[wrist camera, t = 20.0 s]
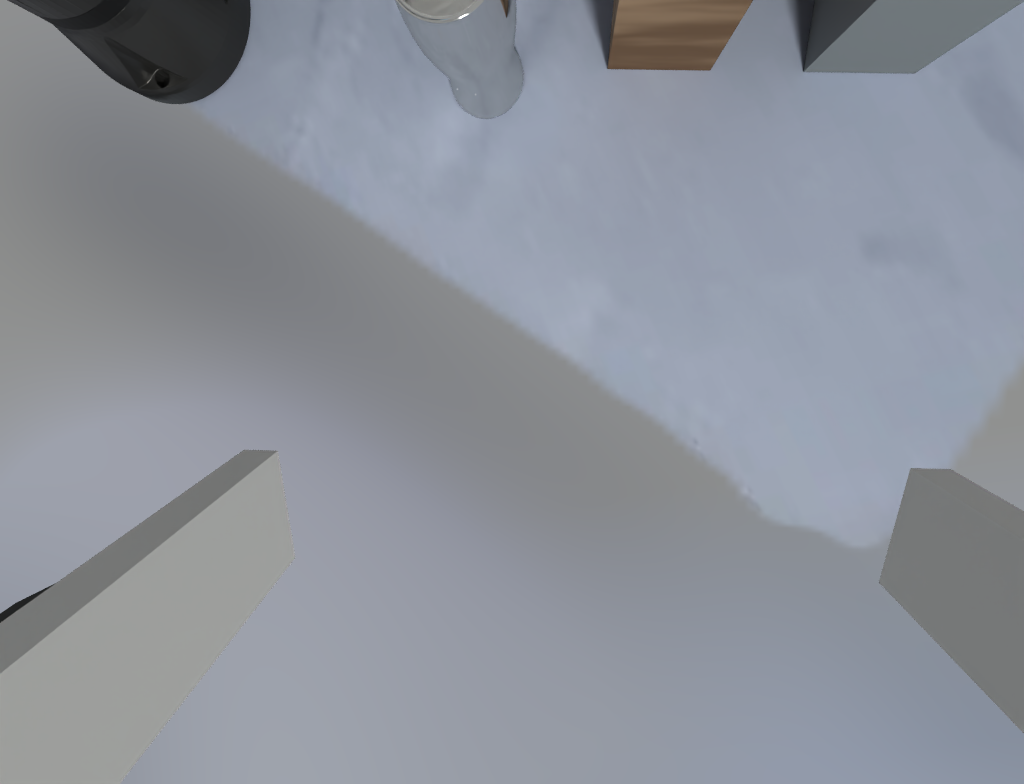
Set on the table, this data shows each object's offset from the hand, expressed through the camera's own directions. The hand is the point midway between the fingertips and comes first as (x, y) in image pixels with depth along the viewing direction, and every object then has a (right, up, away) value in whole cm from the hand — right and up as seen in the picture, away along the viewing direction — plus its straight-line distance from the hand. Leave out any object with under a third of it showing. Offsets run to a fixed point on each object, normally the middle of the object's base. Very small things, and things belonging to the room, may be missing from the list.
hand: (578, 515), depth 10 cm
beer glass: (-3, +29, +30) cm, 42 cm away
